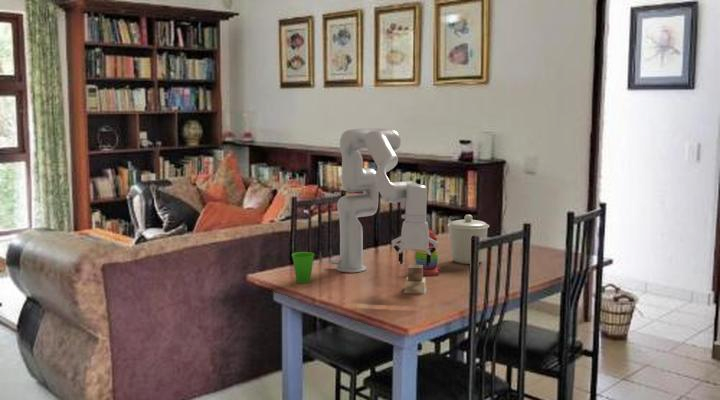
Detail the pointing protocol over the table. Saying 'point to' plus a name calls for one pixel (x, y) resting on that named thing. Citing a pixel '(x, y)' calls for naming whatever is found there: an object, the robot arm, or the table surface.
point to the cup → (303, 266)
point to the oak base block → (415, 286)
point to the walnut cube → (415, 272)
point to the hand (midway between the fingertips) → (414, 264)
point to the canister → (465, 238)
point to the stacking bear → (422, 255)
